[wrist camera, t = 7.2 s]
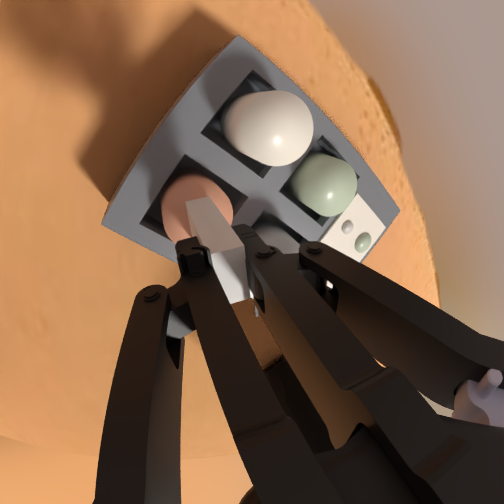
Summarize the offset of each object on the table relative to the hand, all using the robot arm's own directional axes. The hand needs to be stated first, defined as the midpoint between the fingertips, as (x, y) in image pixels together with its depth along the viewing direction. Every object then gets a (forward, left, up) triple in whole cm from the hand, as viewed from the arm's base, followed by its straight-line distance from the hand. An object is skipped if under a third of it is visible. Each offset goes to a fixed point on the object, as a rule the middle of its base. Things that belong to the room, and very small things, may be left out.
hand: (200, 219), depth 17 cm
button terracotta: (0, 0, -5) cm, 5 cm away
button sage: (+7, +7, -5) cm, 11 cm away
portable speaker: (+26, -15, -7) cm, 30 cm away
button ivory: (0, +7, -3) cm, 8 cm away
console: (+6, +3, -6) cm, 9 cm away
